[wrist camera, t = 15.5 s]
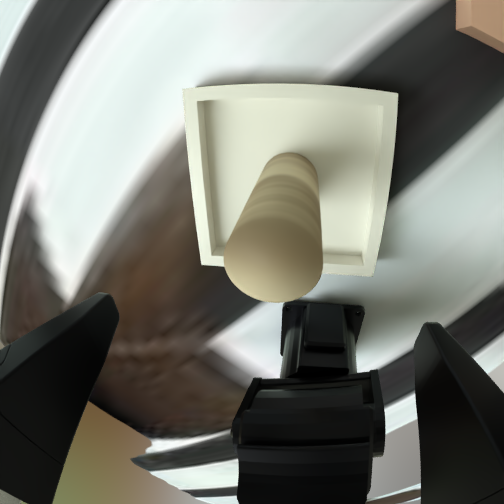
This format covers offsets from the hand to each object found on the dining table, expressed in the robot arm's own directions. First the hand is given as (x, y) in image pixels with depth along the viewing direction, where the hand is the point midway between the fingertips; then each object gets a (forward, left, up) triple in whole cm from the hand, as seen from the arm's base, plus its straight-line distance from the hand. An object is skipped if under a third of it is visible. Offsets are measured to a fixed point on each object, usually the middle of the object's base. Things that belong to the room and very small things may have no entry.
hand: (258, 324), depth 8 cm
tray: (0, 0, -12) cm, 12 cm away
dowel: (0, 0, -12) cm, 12 cm away
